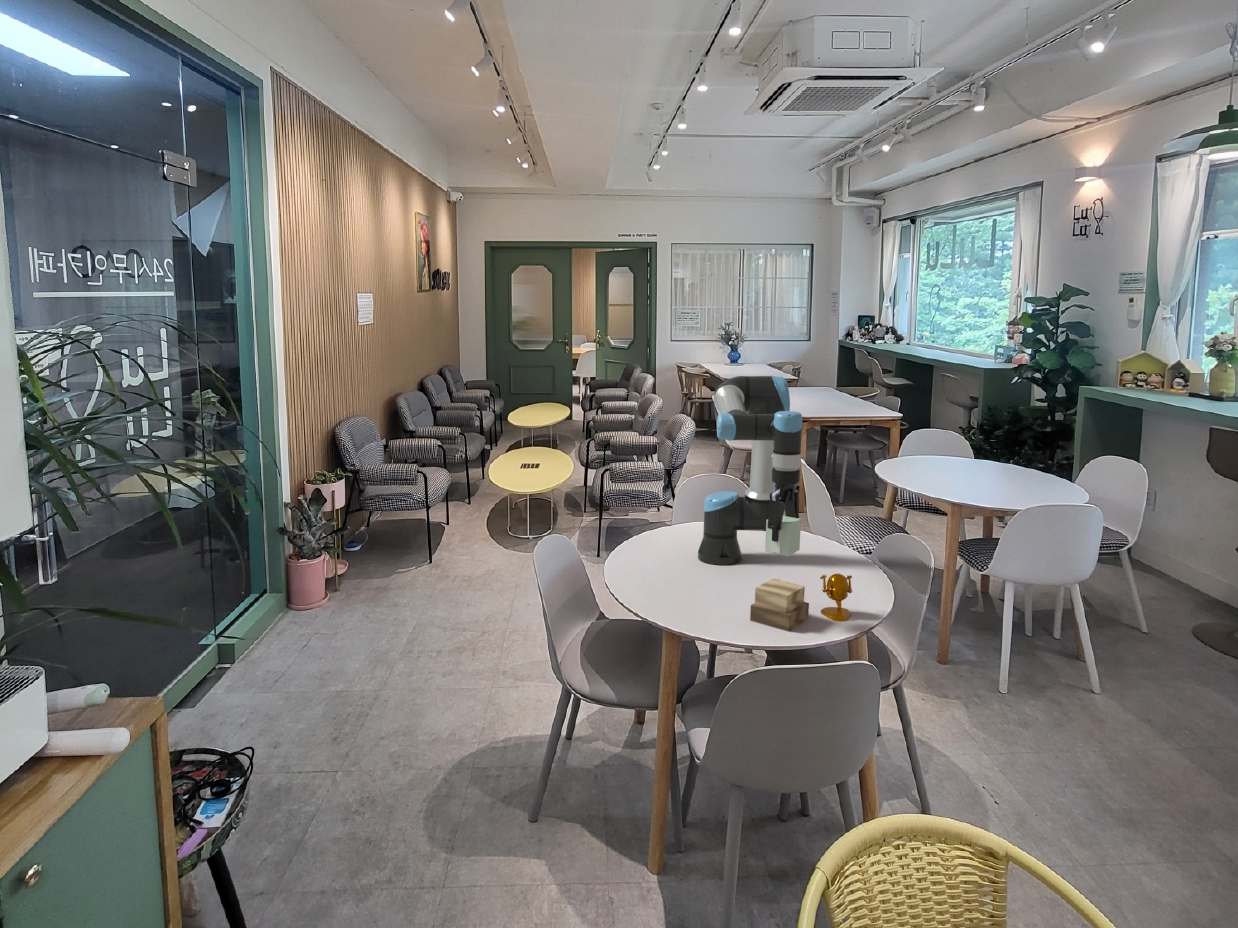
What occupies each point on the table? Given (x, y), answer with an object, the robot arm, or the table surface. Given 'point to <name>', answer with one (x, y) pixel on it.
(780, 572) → the table surface
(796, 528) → the sage block
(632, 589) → the table surface
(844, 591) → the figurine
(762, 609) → the walnut slab
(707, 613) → the table surface
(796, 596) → the oak slab
